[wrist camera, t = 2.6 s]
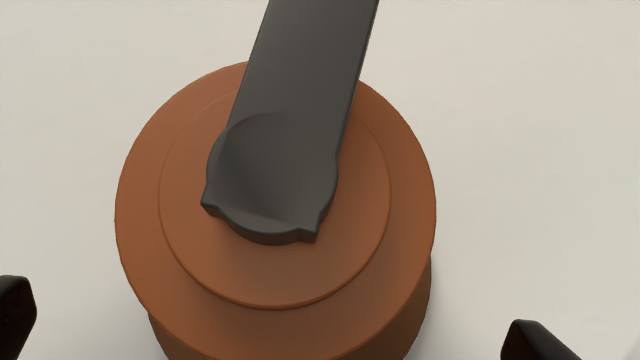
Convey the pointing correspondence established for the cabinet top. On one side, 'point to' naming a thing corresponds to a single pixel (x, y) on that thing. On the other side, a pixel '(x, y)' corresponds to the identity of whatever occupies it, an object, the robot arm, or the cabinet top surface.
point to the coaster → (375, 356)
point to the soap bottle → (279, 198)
